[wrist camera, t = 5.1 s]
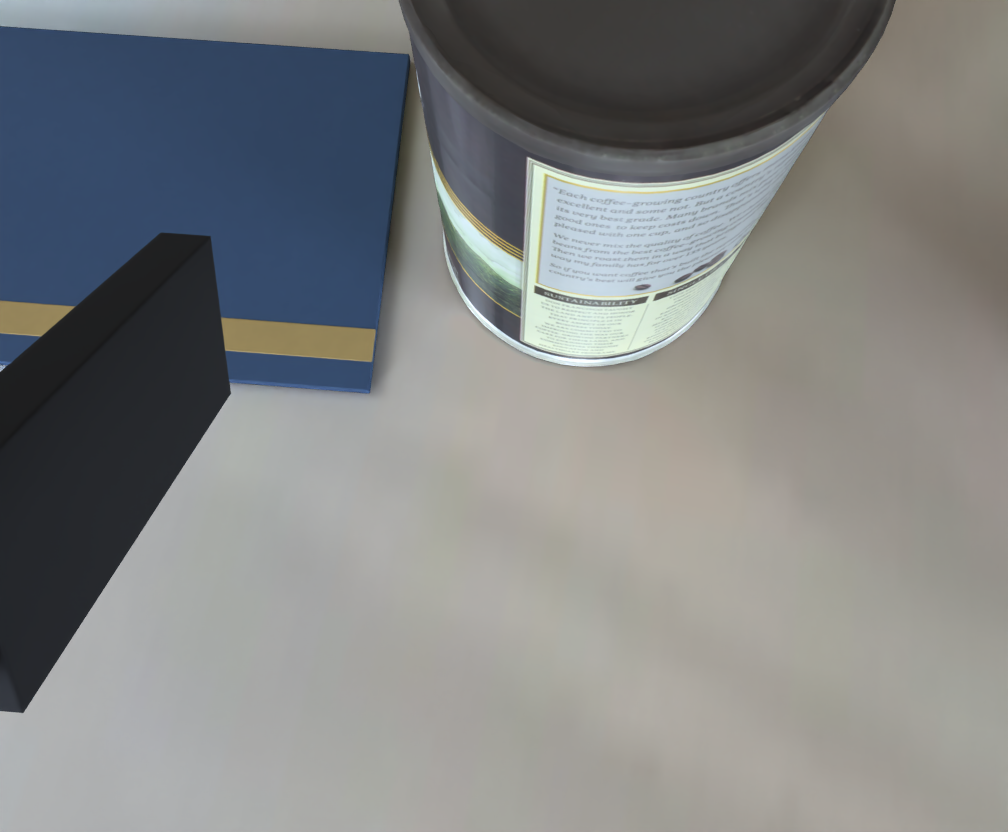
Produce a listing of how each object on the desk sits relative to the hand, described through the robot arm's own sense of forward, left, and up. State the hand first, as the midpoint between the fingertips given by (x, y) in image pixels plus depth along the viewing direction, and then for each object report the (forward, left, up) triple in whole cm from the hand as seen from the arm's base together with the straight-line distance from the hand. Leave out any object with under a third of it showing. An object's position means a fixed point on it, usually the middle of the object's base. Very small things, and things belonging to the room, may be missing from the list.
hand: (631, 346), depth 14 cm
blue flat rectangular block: (+17, -9, -16) cm, 25 cm away
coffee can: (0, -9, -16) cm, 19 cm away
